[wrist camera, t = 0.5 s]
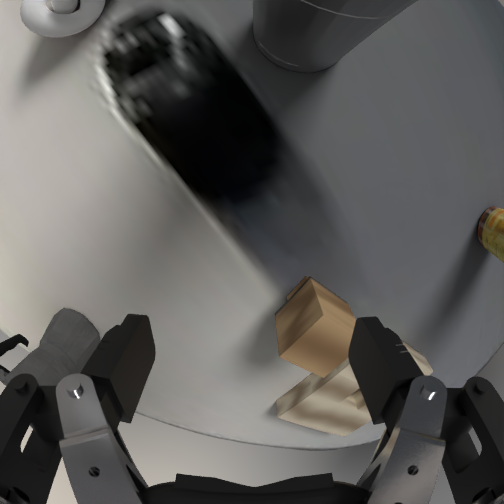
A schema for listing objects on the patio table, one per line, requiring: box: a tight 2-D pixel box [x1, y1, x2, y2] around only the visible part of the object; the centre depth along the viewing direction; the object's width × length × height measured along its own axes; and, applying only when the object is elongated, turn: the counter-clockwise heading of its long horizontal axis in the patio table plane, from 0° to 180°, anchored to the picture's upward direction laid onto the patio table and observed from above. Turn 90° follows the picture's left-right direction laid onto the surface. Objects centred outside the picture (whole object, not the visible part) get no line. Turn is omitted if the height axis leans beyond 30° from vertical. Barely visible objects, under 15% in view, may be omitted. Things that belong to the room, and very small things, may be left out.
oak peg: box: [275, 276, 356, 378], centre depth 27 cm, size 6×6×10 cm
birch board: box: [276, 340, 433, 437], centre depth 36 cm, size 20×16×4 cm
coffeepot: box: [0, 308, 101, 386], centre depth 26 cm, size 15×9×18 cm, turn 53°
